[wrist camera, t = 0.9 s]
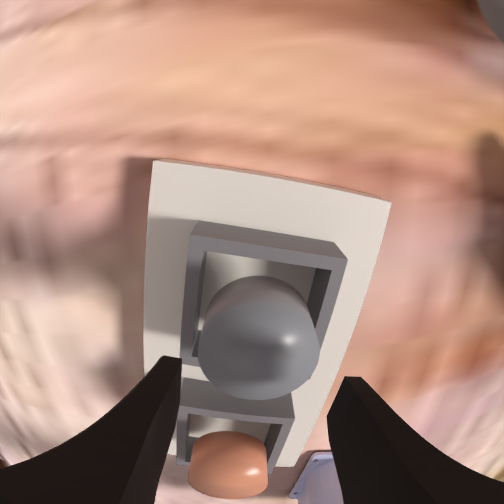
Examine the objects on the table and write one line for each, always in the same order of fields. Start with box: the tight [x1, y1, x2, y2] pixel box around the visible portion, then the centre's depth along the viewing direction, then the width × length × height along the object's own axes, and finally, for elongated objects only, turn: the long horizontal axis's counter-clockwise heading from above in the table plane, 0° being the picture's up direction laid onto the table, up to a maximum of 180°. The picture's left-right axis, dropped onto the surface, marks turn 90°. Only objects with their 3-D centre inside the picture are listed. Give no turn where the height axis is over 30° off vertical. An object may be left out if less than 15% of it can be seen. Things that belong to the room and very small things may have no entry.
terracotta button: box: [188, 431, 268, 499], centre depth 16 cm, size 5×5×2 cm
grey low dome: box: [198, 276, 320, 400], centre depth 13 cm, size 5×5×2 cm
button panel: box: [143, 159, 391, 475], centre depth 18 cm, size 22×12×4 cm, turn 171°
